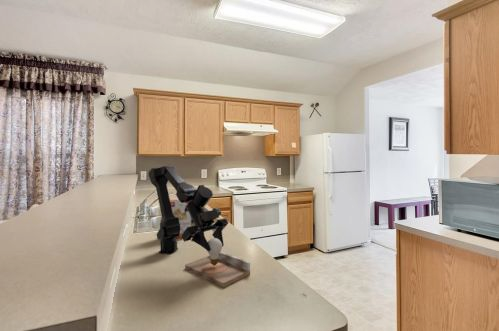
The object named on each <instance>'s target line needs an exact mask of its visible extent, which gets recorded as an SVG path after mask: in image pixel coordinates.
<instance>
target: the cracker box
mask: <svg viewBox="0 0 499 331" xmlns="http://www.w3.org/2000/svg"><path fill="white" fill-rule="evenodd" d="M169 198H170V197H169ZM170 203H171V207H172V212H173V215H174V216H175V217H178V218H179V223H180V227H181V228H180V234H179V237H176V239H182V234H183V232H184V231H185V230H186V228H187V227H190V226H192V225H191V223H192V222H191V221H192V218H191V216H190V214H189V212H185V207H186V205H187V204H188V203H189V202H185V203H181V202H180V201H179V199H178V197H175V198H174V197H173V198H172V197H171V198H170Z"/></svg>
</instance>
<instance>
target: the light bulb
mask: <svg viewBox="0 0 499 331" xmlns="http://www.w3.org/2000/svg"><path fill="white" fill-rule="evenodd" d="M207 242H208V244H209V246H210V249H211V250H210V251H207V250H206V252H207V253H208V256H210V259H211V264H212V265H216V264H217V263H218V256H219V253H220V251H221V252H222V249H223V247H222V243H221V241H220V240H219V239H217V238H214V237H212V238H210V239H209V240H207Z"/></svg>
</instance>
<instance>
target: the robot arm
mask: <svg viewBox="0 0 499 331" xmlns="http://www.w3.org/2000/svg"><path fill="white" fill-rule="evenodd" d="M148 177H149V180H150V183H151V184H152V185H153V186H154V187H155V190H156V194H157V200H158V204H159V208H160V213H161V214H160V215H161V219H160V221H159V230H158V231H157V232H156V239H157V240H159V241H160V242H159V243H160V249H159V251H158V253H159V254H168V255H169V254H173V253H175V252H177V250H178V249H179V248H178V240H177V238H176V237H179V234H180V228H181V227H180V223H179V218H178V217H175V216H174V215H173V212H172V207H171V203H170V194H169V190H168V185H167V184H168V182H169V183H170V185H172V187H173V188H174V189H175V192H176V193H175V195H176V198H178V199H179V201H180V202H181V203H185V202H189V203H188V204H187V205H186V207H185V212H189V214H190V216H191V223H192V224H194V225H191V226H190V227H187V228H186V230H185V231H184V232H183V234H182V238H181V239H182V240H183V242H184V243H185V242H188V241H190V242H191V243H193V242H194V243H195V244H197V245H199V246H201V247H202V248H203V249H205V250H206V252H207V251H210V250H211V249H210V246H209V244H208V240H207V238H206V236H205V232H209V231H212V232H213V233H212V234H211V236H212V238H217V239H219V240H220V241H221V243H222V248H223V247H224V246H225V244H224V238H223V231H224V229H225V228H226V227H227V226H228V224H229V221H228V219H227V218H220V216H221V215H222V212H221V209H220V207H214V208H212V209H211V210H205V209H204V207H206V206H207V204H208V203H209V202H210V200H211V198H212V197H213V196H214V192H213V191H212V190H211V189H210V187H207V186H205V185H204V184H199V185H198V186H197V188H196V187H195V186H193V185H192V184H190V183H187V182H185V180H184V179H183V178H182V177H181V175H180V174H179V173H178V172H177V171H176V170H175V167H174V166H173V165H163V166H161V167H153V168H150V170H148ZM216 219H217V220H216ZM215 220H216V221H215ZM214 222H215V223H214Z"/></svg>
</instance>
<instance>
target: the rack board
mask: <svg viewBox="0 0 499 331" xmlns="http://www.w3.org/2000/svg"><path fill="white" fill-rule="evenodd" d="M184 265H185V266H184V269H185V270H188V271H189V272H191V273H194V274H195V275H197V276H199V277H201V278H203V279H205V280H207V281H209V282H211V283H213V284H215V285H217V286H219V287H221V288H226V287H228V286H230V285H232V284H234V283H235V282H238V281H239V280H241V279H244V278H246V277H247V276H249V275H251V261H248V260H246V259H243V258H240V257H237V256H235V255H233V254H229V253H227V252H224V251H222V250H221V251H220V253H219V256H218V263H217V264H216V265H212V264H211V259H210V255H208V256H206V257H203V258H200V259H197V260H194V261H191V262H189V263H186V264H184Z"/></svg>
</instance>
